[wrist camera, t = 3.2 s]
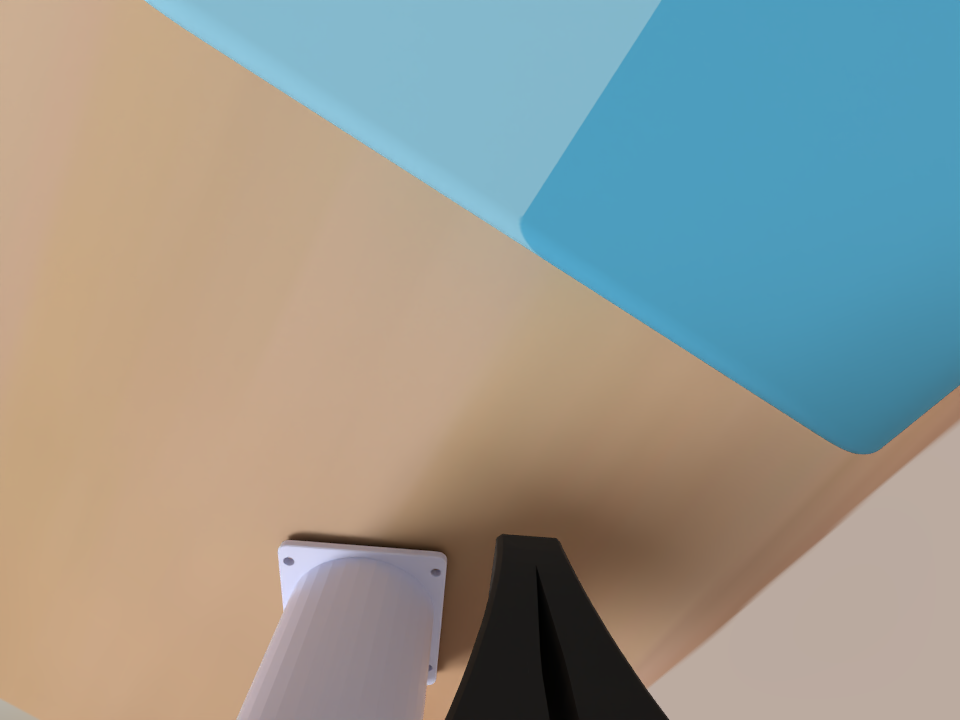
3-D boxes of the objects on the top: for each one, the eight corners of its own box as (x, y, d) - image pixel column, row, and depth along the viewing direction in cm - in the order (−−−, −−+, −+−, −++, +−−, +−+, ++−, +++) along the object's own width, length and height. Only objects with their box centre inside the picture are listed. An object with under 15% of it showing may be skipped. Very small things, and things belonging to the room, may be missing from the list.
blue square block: (351, 67, 15) (-17, -95, 4) (421, -97, 13) (109, -1182, 2) (648, 268, 17) (912, 498, 7) (738, 155, 16) (1294, 217, 5)
